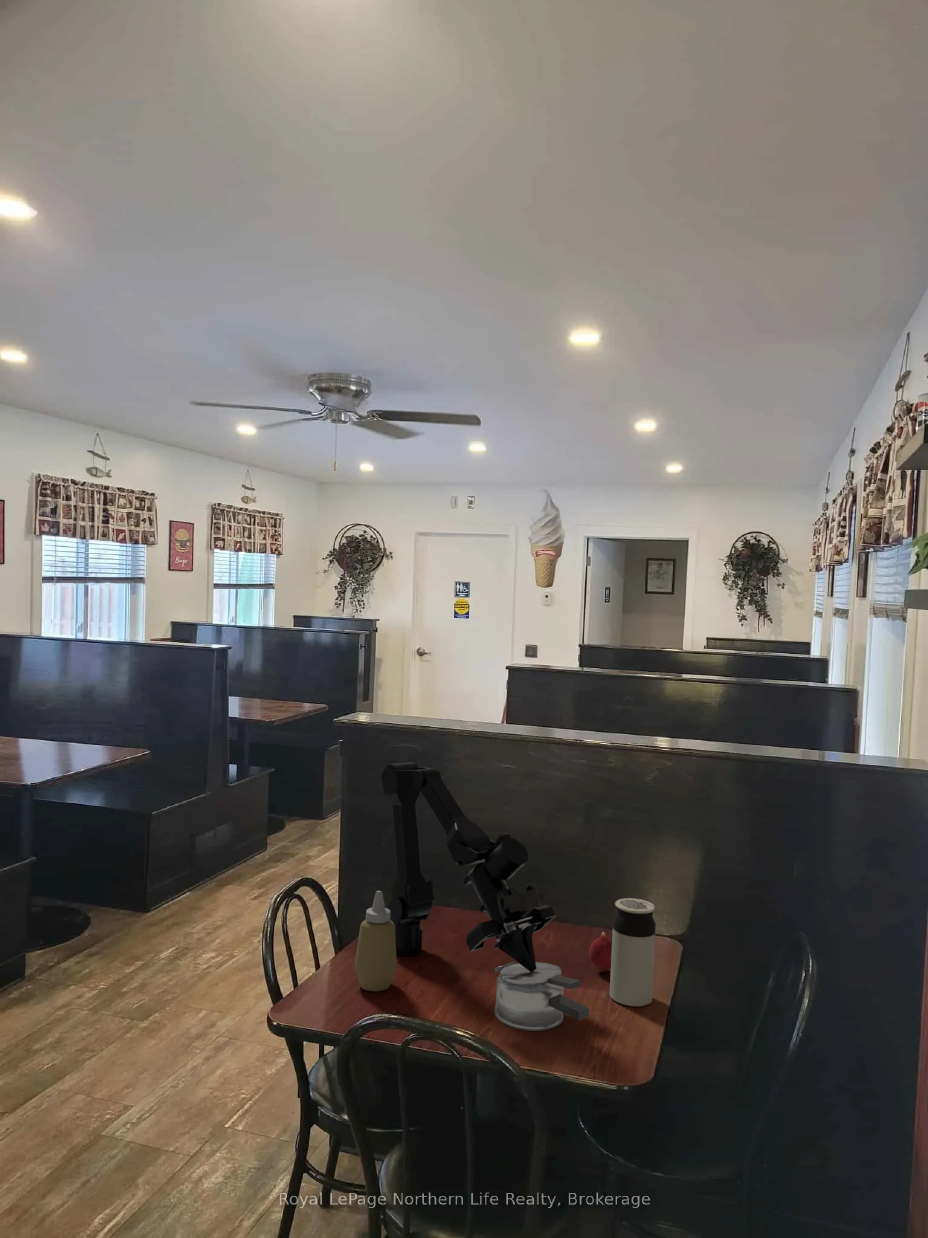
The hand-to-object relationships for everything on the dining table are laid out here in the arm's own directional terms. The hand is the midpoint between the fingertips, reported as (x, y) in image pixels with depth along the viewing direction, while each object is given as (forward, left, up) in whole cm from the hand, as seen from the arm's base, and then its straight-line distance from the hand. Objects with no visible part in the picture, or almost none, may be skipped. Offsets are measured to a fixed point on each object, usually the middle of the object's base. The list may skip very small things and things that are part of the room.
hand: (533, 970), depth 153 cm
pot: (+2, -2, -8) cm, 9 cm away
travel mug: (+20, +9, -8) cm, 23 cm away
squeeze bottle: (-29, +11, -8) cm, 32 cm away
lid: (+1, -1, -1) cm, 1 cm away
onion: (+17, +21, -8) cm, 28 cm away
